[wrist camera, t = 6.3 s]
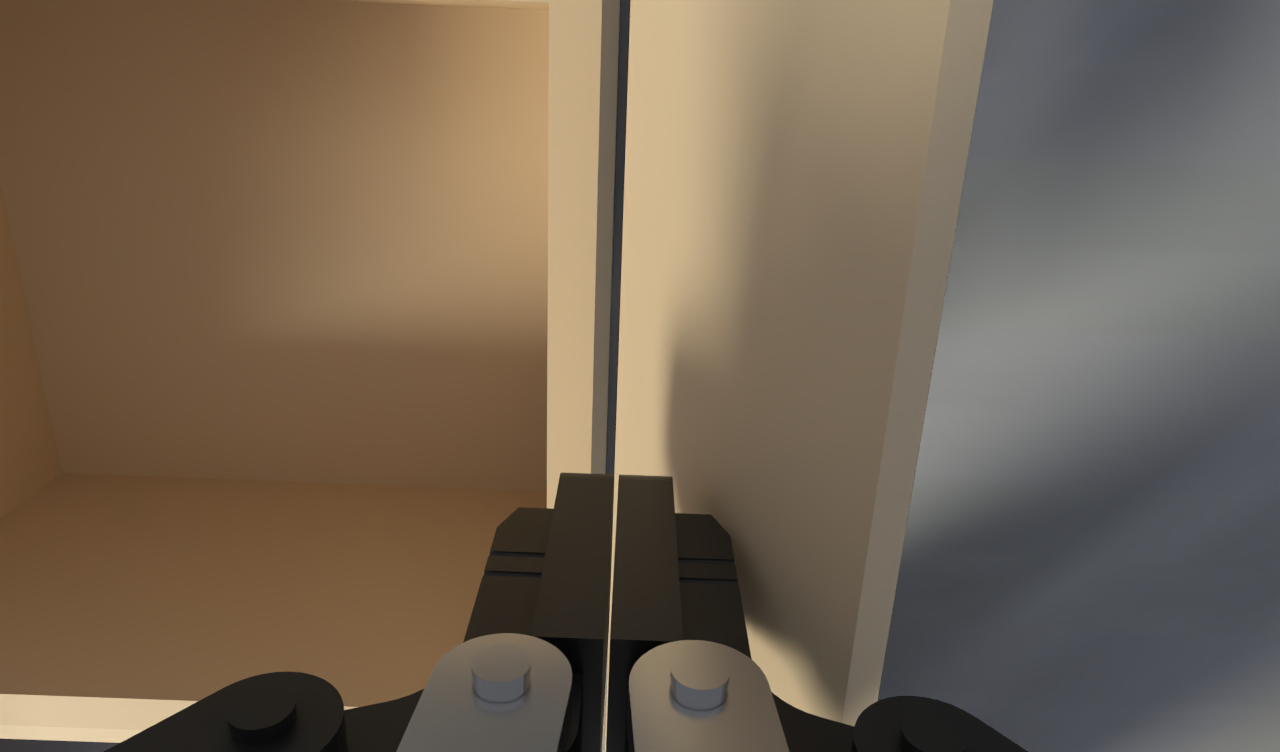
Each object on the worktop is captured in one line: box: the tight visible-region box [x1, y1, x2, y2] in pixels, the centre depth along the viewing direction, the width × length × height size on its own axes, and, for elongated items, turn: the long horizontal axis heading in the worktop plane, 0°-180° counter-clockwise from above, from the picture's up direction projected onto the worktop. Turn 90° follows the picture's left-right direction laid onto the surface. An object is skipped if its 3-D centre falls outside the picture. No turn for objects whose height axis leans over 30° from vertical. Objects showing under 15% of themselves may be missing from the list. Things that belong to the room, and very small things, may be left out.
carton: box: [0, 0, 620, 743], centre depth 21 cm, size 17×16×10 cm
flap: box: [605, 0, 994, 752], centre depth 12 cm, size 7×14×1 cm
